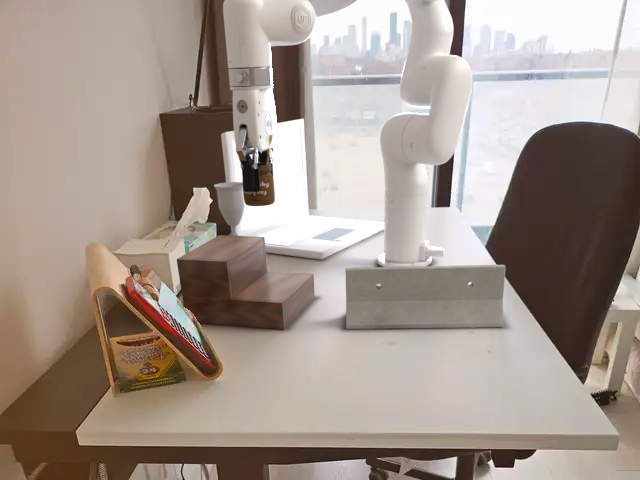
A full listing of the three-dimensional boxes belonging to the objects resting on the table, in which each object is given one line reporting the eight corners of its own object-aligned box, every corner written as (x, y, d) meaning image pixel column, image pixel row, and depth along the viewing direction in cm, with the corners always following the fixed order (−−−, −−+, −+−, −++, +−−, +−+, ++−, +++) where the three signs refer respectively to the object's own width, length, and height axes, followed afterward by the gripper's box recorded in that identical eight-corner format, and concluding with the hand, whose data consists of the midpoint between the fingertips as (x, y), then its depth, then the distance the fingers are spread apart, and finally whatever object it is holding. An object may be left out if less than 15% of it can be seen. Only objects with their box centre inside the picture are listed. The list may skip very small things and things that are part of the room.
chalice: (257, 259, 160) (250, 182, 151) (245, 266, 155) (237, 187, 146) (230, 257, 162) (222, 181, 153) (218, 265, 157) (208, 187, 148)
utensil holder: (248, 200, 126) (243, 133, 121) (280, 200, 125) (276, 132, 119) (240, 206, 121) (233, 137, 116) (272, 206, 120) (267, 136, 114)
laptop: (323, 260, 157) (318, 134, 143) (232, 248, 170) (219, 132, 156) (387, 229, 181) (388, 119, 168) (304, 221, 195) (298, 118, 181)
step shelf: (314, 297, 133) (311, 238, 127) (284, 329, 118) (279, 264, 112) (225, 292, 138) (219, 235, 132) (185, 321, 124) (176, 259, 118)
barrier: (346, 329, 117) (344, 274, 112) (347, 315, 123) (346, 262, 118) (503, 327, 114) (508, 271, 109) (496, 313, 121) (501, 259, 116)
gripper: (251, 81, 105) (260, 197, 114) (288, 77, 119) (293, 181, 128) (209, 82, 107) (221, 196, 116) (250, 78, 121) (258, 180, 130)
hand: (259, 187), depth 122 cm, fingers closed on utensil holder, 6 cm apart
